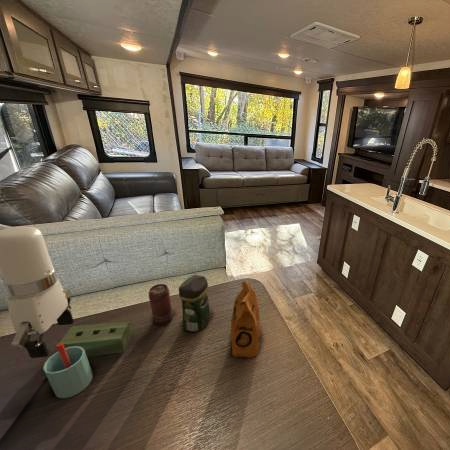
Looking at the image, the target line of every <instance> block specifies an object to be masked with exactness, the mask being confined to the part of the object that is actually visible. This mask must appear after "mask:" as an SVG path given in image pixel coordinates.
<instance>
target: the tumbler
mask: <svg viewBox="0 0 450 450" xmlns="http://www.w3.org/2000/svg"><path fill="white" fill-rule="evenodd" d="M65 350H66V353H67V355H68V358H69V360H70V363H71V365H72V366H70V367H69V368H67V369H65V366H64V364H63V361H62V359H61V356H60V354H59V352H58V351H56V352H55V353H53V354H52V355H51V356H50V357H48V358H47V359H46V361H45V362H44V364H43V367H42V370H43V372H44V374H45V377H46V378H47V381H48V383H49V385H50V387H51V389H52V392H53V393H54V395H55V396H56V398H58V399H68V398H71V397H74V396H76V395H78V394H79V393H81V392H83V391H84V390H85V389H86V388H87V387H88V386H89V385H90V384H91V382H92V380H93V377H94V374H93V369H92V367H91V365H90V362H89V359H88V357H87V356H86V353H85V350H84V349H83V348H82V347H78V346H74V347H68V348H65Z"/></svg>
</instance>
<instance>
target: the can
mask: <svg viewBox="0 0 450 450" xmlns="http://www.w3.org/2000/svg"><path fill="white" fill-rule="evenodd" d="M169 288H170V287H169V286H168V285H167V284H164V283H158V284H155V285H153V286H151V287H150V289H149V292H148V299H149V303H150V308H151V314H152V318H153V323H154V324H155V325H157V326H165V325H168V324H169V323H170V322H171V321H172V319H173V318H174V314H173V307H172V301H171V296H170V295H171V294H170V293H171V292H170V289H169Z"/></svg>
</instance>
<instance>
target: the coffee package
mask: <svg viewBox="0 0 450 450" xmlns="http://www.w3.org/2000/svg"><path fill="white" fill-rule="evenodd" d="M241 287H242V289H241V290H240V292H239V293H238V294H237V295H236V297H235V299H234V302H233V308H232V313H231V320H230V340H231V355H232V356H233V357H234V358H239V357H241V358H248V359H249V358H250V359H251V358H254V357H256V356H257V355H258V351H259V348H260V343H261V338H262V332H261V327H262V326H261V313H260V308H259V302H258V296H257V293H256V291H255V290H254V288H253V287H252V285H250V283H249V282H248V280H244V281H243V282H242V283H241Z"/></svg>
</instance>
